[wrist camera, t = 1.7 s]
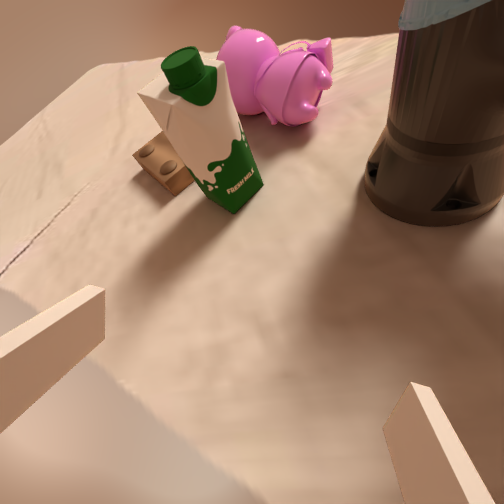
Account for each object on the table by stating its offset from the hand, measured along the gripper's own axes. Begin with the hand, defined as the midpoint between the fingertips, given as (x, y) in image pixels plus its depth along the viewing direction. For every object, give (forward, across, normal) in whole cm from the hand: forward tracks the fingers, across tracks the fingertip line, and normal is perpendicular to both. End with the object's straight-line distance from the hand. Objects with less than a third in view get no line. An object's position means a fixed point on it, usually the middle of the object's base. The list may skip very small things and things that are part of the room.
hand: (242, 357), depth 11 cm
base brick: (+43, -22, +3) cm, 49 cm away
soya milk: (+34, -9, +1) cm, 35 cm away
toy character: (+50, -8, +16) cm, 53 cm away
